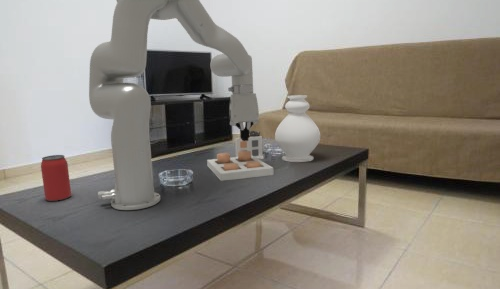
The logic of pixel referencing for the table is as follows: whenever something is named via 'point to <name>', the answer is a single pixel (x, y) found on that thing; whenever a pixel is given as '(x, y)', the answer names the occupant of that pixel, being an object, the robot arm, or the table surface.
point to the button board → (239, 169)
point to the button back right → (244, 156)
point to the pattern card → (250, 146)
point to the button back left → (223, 158)
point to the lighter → (255, 135)
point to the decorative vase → (297, 131)
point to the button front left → (230, 166)
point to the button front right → (253, 164)
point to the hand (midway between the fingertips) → (245, 140)
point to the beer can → (55, 178)
